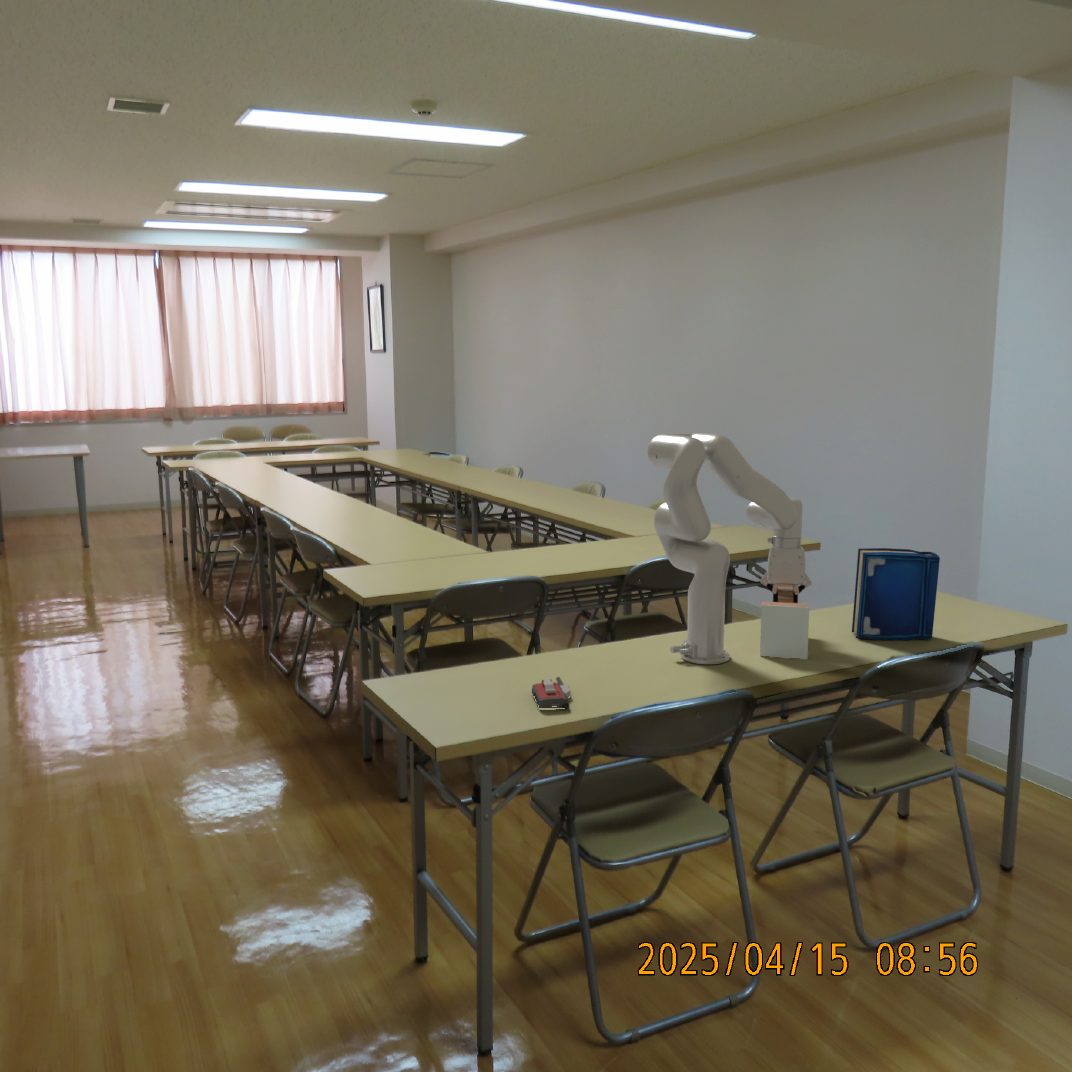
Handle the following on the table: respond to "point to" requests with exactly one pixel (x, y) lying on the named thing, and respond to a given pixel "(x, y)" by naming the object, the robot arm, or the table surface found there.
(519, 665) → the table surface
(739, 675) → the table surface
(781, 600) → the block
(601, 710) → the table surface
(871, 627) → the book
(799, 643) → the tile
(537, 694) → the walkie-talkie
